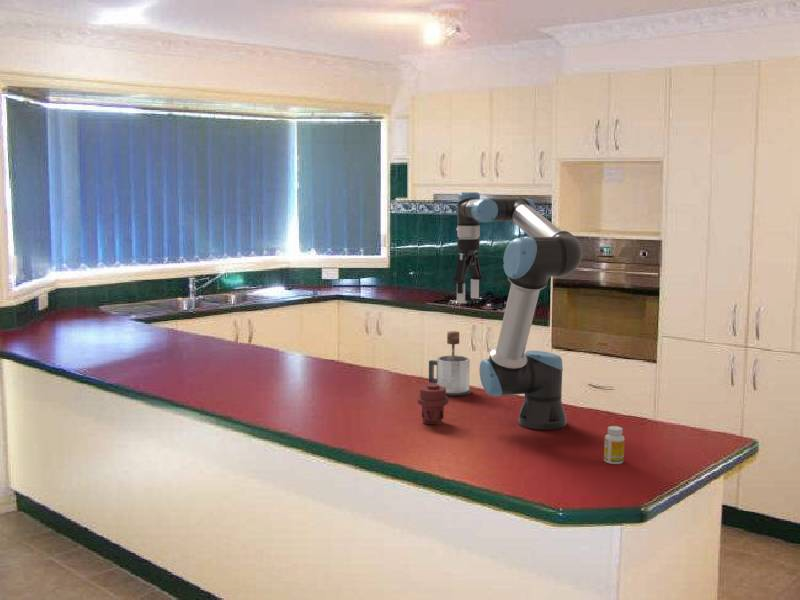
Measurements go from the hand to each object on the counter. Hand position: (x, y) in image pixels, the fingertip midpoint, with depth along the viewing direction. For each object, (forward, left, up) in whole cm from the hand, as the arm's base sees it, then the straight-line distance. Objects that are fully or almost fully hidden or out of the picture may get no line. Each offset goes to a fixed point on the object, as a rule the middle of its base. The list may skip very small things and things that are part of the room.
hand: (467, 300), depth 304 cm
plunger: (+11, -15, -35) cm, 39 cm away
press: (+12, -15, -36) cm, 41 cm away
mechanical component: (+2, +26, -37) cm, 45 cm away
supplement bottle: (-58, +41, -37) cm, 80 cm away
